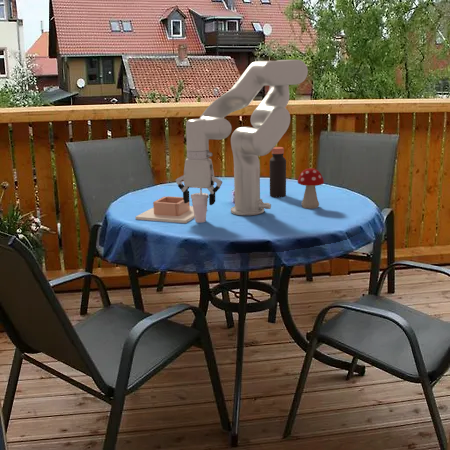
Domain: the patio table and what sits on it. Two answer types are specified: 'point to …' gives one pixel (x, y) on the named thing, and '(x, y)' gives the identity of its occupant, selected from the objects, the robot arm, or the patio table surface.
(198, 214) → the smoothie
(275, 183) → the vinegar
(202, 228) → the patio table surface
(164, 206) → the open brown bin
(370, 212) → the patio table surface
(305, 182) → the decorative mushroom
